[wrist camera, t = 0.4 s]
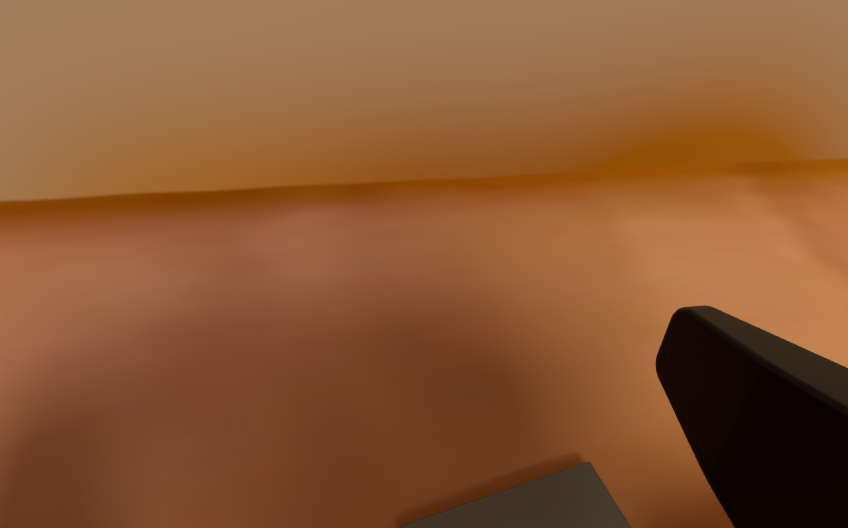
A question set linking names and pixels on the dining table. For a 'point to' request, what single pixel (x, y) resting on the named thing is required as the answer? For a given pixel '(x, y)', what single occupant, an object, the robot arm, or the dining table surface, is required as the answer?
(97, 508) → the dining table surface
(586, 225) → the dining table surface
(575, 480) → the pad
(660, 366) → the robot arm
